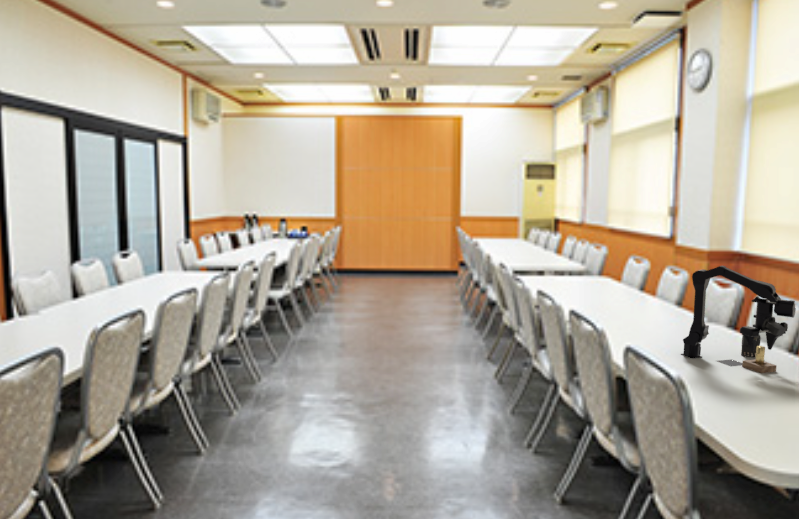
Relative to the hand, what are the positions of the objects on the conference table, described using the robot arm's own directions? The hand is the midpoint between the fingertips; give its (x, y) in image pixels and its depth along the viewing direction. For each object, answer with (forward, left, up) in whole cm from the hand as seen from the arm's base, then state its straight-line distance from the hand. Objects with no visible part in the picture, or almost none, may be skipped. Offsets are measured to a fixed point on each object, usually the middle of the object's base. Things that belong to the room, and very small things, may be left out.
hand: (761, 350), depth 238 cm
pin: (0, 0, -8) cm, 9 cm away
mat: (-4, +10, -8) cm, 14 cm away
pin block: (0, 0, -8) cm, 9 cm away
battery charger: (+13, +16, -9) cm, 22 cm away
